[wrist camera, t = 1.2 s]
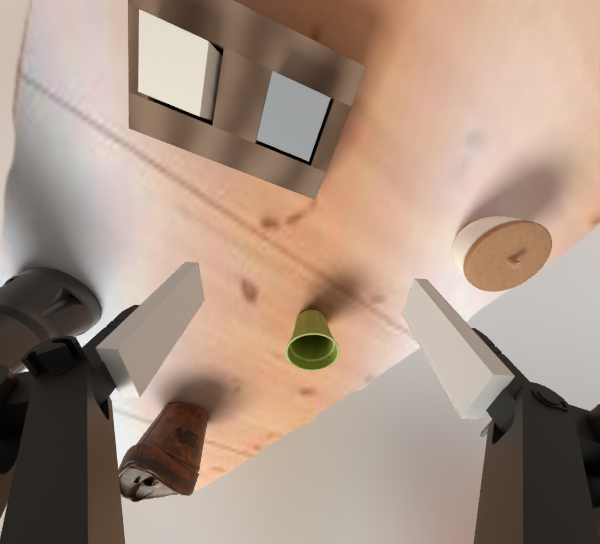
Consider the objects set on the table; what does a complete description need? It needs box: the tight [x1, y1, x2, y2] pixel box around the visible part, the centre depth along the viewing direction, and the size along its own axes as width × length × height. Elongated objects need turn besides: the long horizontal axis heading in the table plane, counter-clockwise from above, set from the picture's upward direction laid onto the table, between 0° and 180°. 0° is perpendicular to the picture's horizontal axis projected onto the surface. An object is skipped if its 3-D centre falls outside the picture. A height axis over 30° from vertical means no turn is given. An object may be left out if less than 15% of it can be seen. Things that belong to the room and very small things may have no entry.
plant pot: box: [286, 310, 339, 371], centre depth 43 cm, size 9×9×9 cm
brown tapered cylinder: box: [118, 403, 208, 502], centre depth 57 cm, size 18×20×18 cm
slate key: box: [256, 71, 331, 161], centre depth 25 cm, size 6×6×4 cm
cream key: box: [138, 9, 223, 120], centre depth 23 cm, size 6×6×4 cm
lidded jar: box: [451, 216, 552, 291], centre depth 34 cm, size 11×11×9 cm
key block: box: [128, 0, 366, 199], centre depth 27 cm, size 23×14×6 cm, turn 70°
